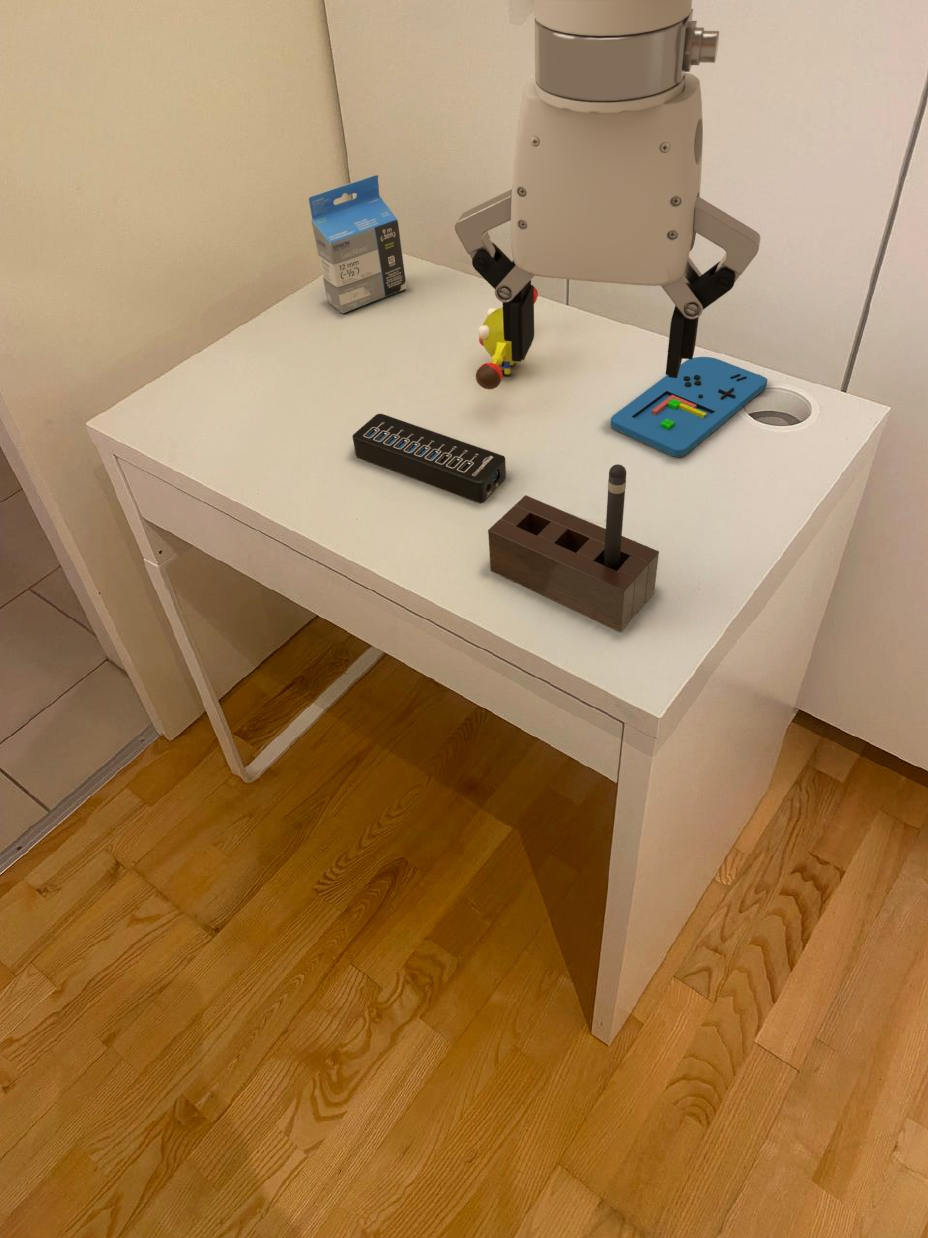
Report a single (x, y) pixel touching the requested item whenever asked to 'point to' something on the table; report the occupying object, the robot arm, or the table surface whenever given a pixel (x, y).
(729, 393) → the handheld gaming device
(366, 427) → the multiport hub
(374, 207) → the label tape box
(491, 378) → the toy figure
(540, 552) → the pen stand
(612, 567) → the stylus
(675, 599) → the table surface
